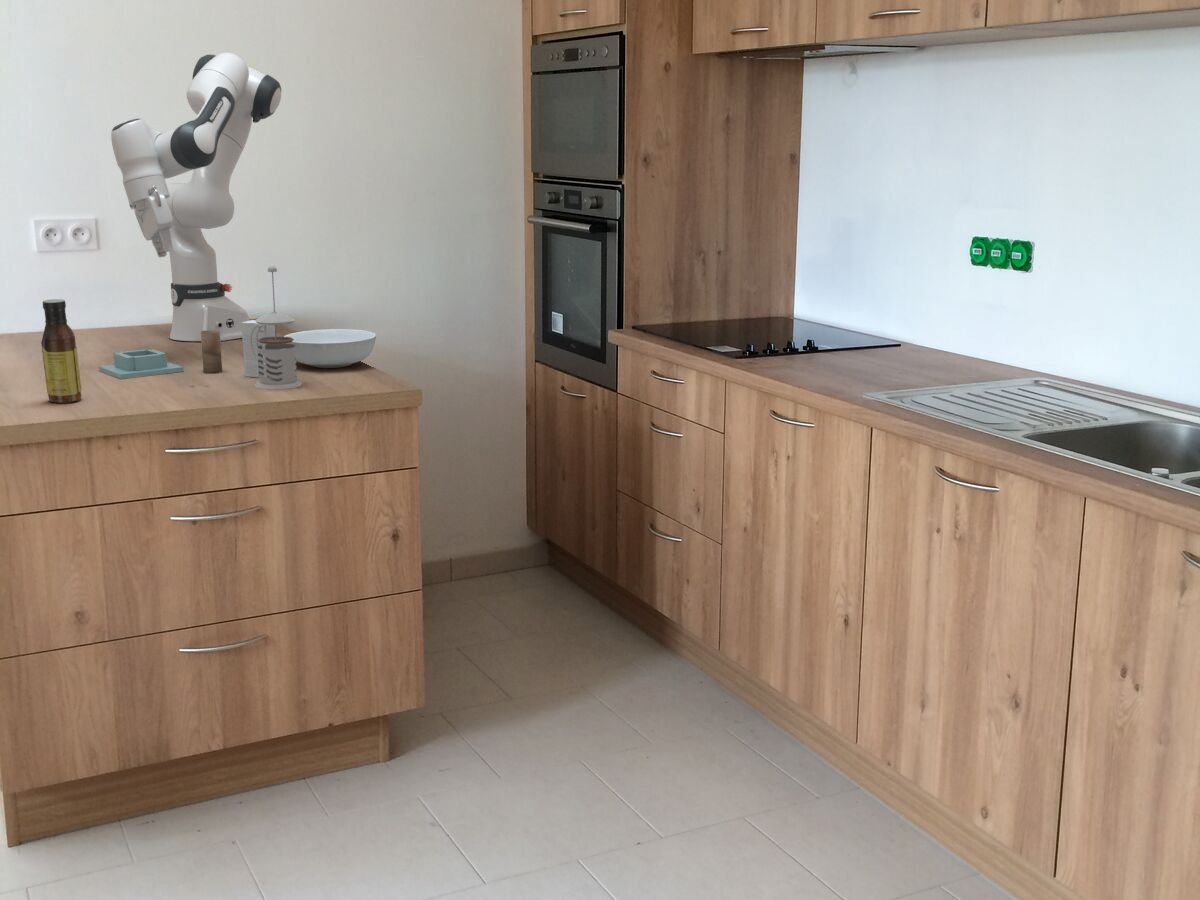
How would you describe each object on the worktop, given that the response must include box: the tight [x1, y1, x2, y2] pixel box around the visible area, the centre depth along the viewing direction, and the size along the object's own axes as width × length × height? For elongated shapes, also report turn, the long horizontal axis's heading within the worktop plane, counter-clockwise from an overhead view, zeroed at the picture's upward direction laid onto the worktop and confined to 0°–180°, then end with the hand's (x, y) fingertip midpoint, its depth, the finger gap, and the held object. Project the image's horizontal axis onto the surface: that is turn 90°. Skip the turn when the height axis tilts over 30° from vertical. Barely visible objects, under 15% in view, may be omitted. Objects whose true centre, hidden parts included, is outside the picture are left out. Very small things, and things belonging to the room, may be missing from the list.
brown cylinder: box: [200, 330, 223, 374], centre depth 271 cm, size 4×4×9 cm
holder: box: [98, 348, 184, 380], centre depth 271 cm, size 14×12×4 cm
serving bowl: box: [283, 328, 377, 369], centre depth 282 cm, size 21×21×7 cm
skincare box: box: [241, 319, 275, 378], centre depth 267 cm, size 6×4×12 cm
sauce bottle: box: [40, 298, 82, 404], centre depth 238 cm, size 6×6×20 cm
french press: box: [250, 265, 303, 390], centre depth 257 cm, size 10×12×25 cm
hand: (166, 253), depth 276 cm, fingers open, 8 cm apart
